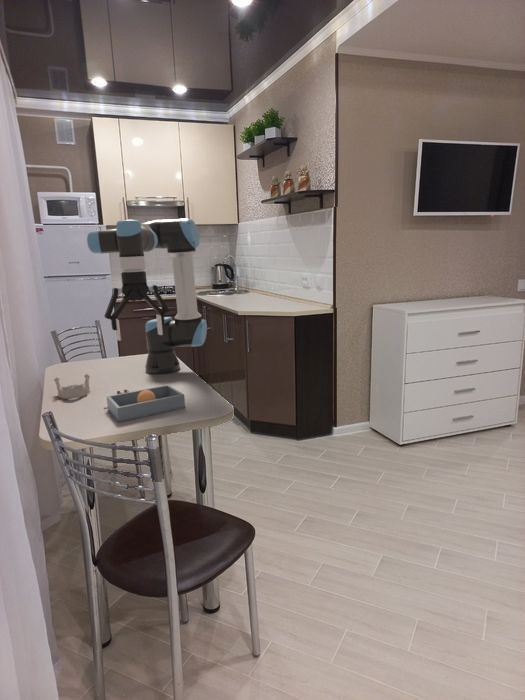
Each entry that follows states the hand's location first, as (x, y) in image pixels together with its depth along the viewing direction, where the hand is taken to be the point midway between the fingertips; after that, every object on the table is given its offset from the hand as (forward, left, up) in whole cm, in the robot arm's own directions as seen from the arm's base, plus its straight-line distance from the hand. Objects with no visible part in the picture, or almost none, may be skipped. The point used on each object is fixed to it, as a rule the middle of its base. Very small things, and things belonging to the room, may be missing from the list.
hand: (140, 337), depth 148 cm
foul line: (0, -10, -25) cm, 27 cm away
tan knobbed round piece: (+4, -15, -24) cm, 29 cm away
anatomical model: (+18, -33, -25) cm, 46 cm away
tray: (0, -1, -24) cm, 25 cm away
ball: (0, 0, -24) cm, 24 cm away
